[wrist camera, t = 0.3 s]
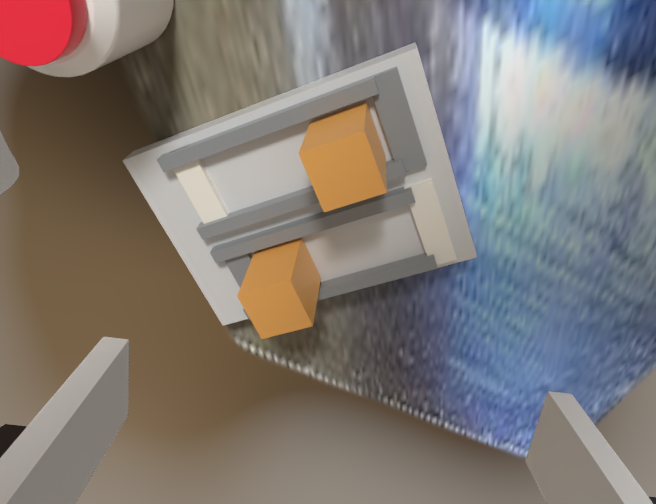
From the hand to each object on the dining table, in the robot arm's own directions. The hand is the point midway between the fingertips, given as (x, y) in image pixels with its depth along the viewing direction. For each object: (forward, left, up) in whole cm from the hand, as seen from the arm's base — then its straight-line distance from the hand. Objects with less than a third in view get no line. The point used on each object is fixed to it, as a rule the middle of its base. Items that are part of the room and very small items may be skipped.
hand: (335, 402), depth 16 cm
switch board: (+6, +3, -25) cm, 26 cm away
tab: (+8, +7, -23) cm, 25 cm away
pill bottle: (+11, -15, -25) cm, 31 cm away
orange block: (+1, -1, -23) cm, 23 cm away
